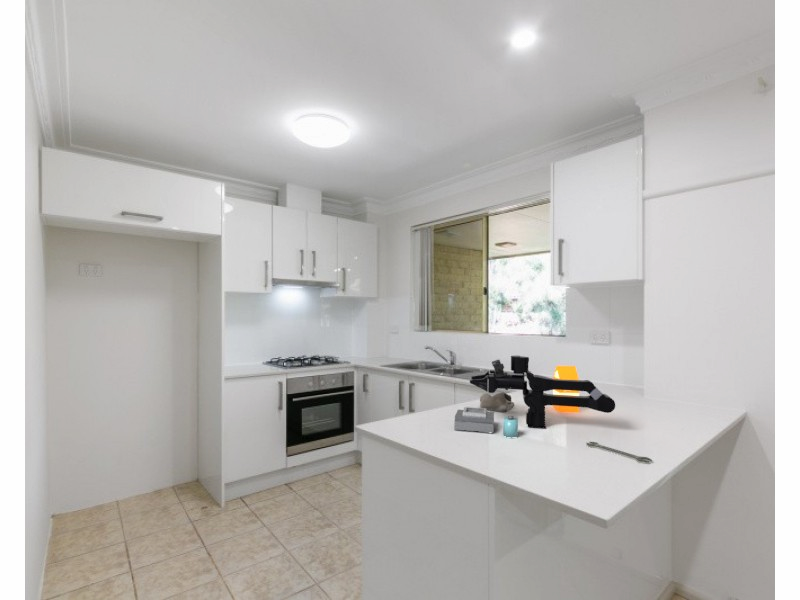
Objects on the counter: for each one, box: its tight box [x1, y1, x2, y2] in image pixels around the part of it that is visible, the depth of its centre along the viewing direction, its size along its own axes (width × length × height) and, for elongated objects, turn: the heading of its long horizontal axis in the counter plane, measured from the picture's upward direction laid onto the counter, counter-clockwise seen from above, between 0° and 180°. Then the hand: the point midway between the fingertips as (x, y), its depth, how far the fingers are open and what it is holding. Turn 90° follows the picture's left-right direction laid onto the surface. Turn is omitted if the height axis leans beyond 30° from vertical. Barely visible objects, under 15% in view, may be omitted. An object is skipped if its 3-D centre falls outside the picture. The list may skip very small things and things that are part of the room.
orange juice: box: [552, 365, 580, 414], centre depth 186 cm, size 8×9×20 cm
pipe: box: [479, 391, 516, 413], centre depth 184 cm, size 16×9×15 cm
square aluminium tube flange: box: [453, 406, 495, 434], centre depth 157 cm, size 14×13×6 cm
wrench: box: [586, 441, 653, 465], centre depth 130 cm, size 5×2×20 cm
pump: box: [502, 415, 519, 438], centre depth 147 cm, size 5×5×7 cm
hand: (470, 379), depth 166 cm, fingers open, 9 cm apart
